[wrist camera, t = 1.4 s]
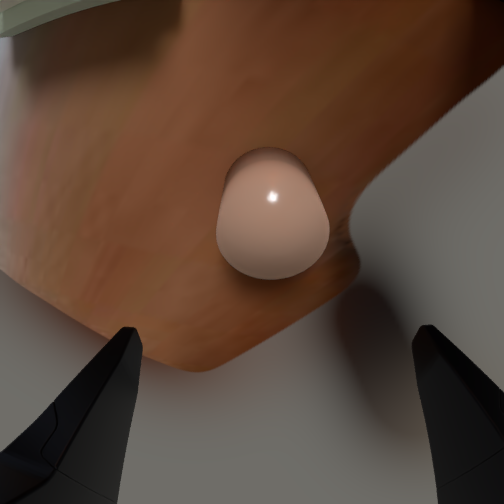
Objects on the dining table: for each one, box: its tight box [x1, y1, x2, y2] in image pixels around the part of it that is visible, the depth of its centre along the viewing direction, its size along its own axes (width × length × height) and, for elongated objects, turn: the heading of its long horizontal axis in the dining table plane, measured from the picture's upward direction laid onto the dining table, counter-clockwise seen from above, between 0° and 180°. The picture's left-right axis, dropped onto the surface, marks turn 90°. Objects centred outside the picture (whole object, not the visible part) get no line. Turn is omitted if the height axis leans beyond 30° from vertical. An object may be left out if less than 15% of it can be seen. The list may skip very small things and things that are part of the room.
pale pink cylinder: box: [216, 147, 330, 280], centre depth 16 cm, size 5×5×5 cm
